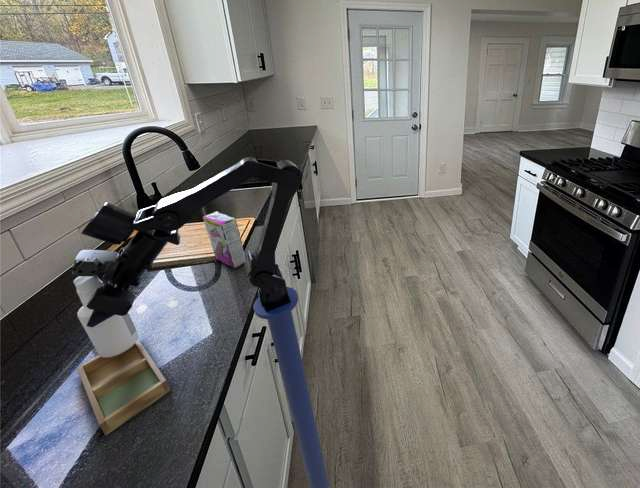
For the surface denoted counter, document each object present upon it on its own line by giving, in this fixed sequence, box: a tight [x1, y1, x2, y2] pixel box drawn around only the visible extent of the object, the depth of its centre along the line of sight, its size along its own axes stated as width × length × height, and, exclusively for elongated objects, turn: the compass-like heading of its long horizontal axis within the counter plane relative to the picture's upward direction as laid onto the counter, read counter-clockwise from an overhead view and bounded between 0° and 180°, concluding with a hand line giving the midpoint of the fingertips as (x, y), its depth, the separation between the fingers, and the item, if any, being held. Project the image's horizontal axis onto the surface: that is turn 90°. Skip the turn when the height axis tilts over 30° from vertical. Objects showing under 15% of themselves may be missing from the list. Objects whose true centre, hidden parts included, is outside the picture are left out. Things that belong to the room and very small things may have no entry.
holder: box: [76, 339, 172, 437], centre depth 64 cm, size 10×19×3 cm, turn 53°
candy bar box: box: [202, 211, 247, 269], centre depth 102 cm, size 11×5×16 cm, turn 58°
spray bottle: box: [72, 275, 140, 358], centre depth 65 cm, size 7×7×18 cm
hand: (94, 315), depth 64 cm, fingers closed on spray bottle, 7 cm apart
